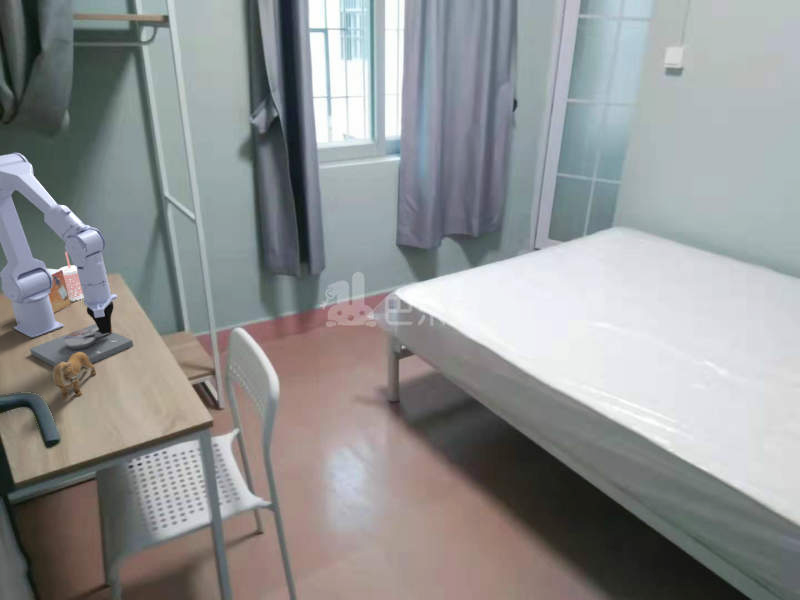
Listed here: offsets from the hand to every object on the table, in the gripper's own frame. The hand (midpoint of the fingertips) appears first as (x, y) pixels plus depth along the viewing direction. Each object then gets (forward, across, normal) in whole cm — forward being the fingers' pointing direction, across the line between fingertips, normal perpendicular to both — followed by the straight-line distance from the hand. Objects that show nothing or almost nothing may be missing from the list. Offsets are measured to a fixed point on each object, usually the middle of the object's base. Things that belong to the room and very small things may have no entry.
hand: (106, 332), depth 138 cm
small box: (+3, +29, +14) cm, 32 cm away
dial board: (+3, -1, +6) cm, 6 cm away
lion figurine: (+3, -20, +6) cm, 21 cm away
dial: (+1, 0, +4) cm, 4 cm away
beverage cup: (+3, +34, +8) cm, 35 cm away
